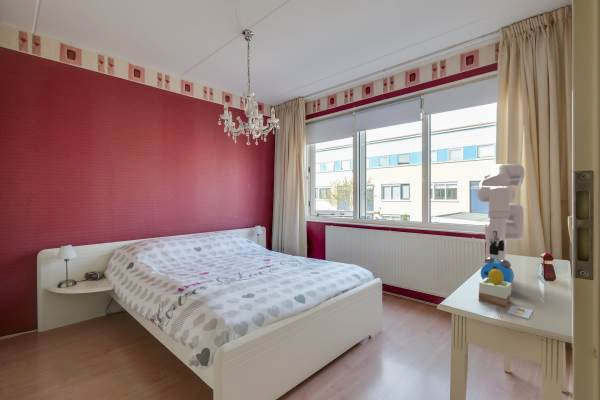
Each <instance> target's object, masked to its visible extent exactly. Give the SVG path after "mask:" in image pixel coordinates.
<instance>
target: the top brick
mask: <svg viewBox="0 0 600 400" xmlns="http://www.w3.org/2000/svg"><path fill="white" fill-rule="evenodd" d="M512 283H513V282H512ZM512 283H509V282H504V281H503V282H502V283H501V284H500V285H497V286H496V285H494V284H492V283H491V282H490V281H489V278H485V279H482V280H480V282H479V283H478V293H479V292H480V293H484V294H488V295H492V296H496V297H500V298H504V299H506V298H507V297H508V296H509V295H510V294H511V295H512Z"/></svg>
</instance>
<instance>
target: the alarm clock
mask: <svg viewBox="0 0 600 400" xmlns="http://www.w3.org/2000/svg"><path fill="white" fill-rule="evenodd" d="M496 260H497V259H496ZM483 261H484V265H483V266H482V267H481V269H480V277H481V279H482V280H483V279H485V278H489V272H490V271H491V270H493V269H498V270H500V271H501V272H502V273H503V277H504V279H503V281H504V282H509V283H513V282H514V279H515V278H514V277H515V274H514V271H513V270H512V268H511V267H512V264H511V262H509V260H508V259H507V260H501V261H498V260H497V261H495V259H494V258H492V257H489V258H486V259H485V258H484V260H483ZM488 262H489V263H488ZM485 263H487V264H485Z"/></svg>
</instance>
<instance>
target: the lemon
mask: <svg viewBox="0 0 600 400" xmlns="http://www.w3.org/2000/svg"><path fill="white" fill-rule="evenodd" d="M503 279H504V277H503V273H502V272H501V271H500V270H498V269H493V270H491V271H490V272H489V281H490V282H491V283H492V284H494V285H496V286H497V285H500V284H501V283H502V282H503Z"/></svg>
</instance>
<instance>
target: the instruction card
mask: <svg viewBox="0 0 600 400" xmlns="http://www.w3.org/2000/svg"><path fill="white" fill-rule="evenodd" d="M533 312H534V310H531V309H527V308H524V307H520V306H515V305H511V306H510V308H509V309H508V310H507V312H506V313H507V314H508V315H513V316H517V317H520V318H522V319H527V320H529V319H530V317H531V316H532V314H533Z"/></svg>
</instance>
